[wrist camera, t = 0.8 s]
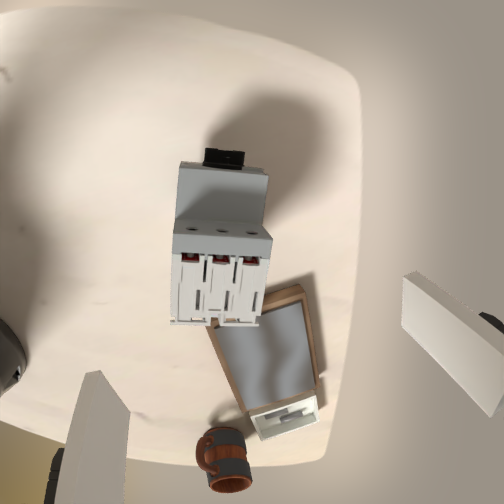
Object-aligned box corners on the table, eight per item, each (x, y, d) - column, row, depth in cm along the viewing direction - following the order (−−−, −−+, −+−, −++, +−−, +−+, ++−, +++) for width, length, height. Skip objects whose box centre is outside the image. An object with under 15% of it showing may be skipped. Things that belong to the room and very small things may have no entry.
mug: (210, 412, 49) (218, 465, 38) (251, 435, 54) (264, 481, 43) (178, 432, 50) (181, 482, 39) (220, 452, 55) (229, 497, 44)
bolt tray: (258, 431, 54) (261, 441, 51) (247, 405, 50) (250, 416, 48) (315, 412, 55) (319, 421, 52) (310, 385, 51) (315, 395, 49)
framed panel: (239, 402, 49) (242, 415, 47) (203, 313, 42) (204, 325, 39) (315, 377, 51) (321, 389, 48) (299, 283, 43) (306, 293, 40)
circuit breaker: (247, 151, 35) (285, 158, 22) (233, 263, 40) (258, 329, 26) (183, 144, 34) (180, 147, 20) (174, 260, 38) (170, 327, 24)
